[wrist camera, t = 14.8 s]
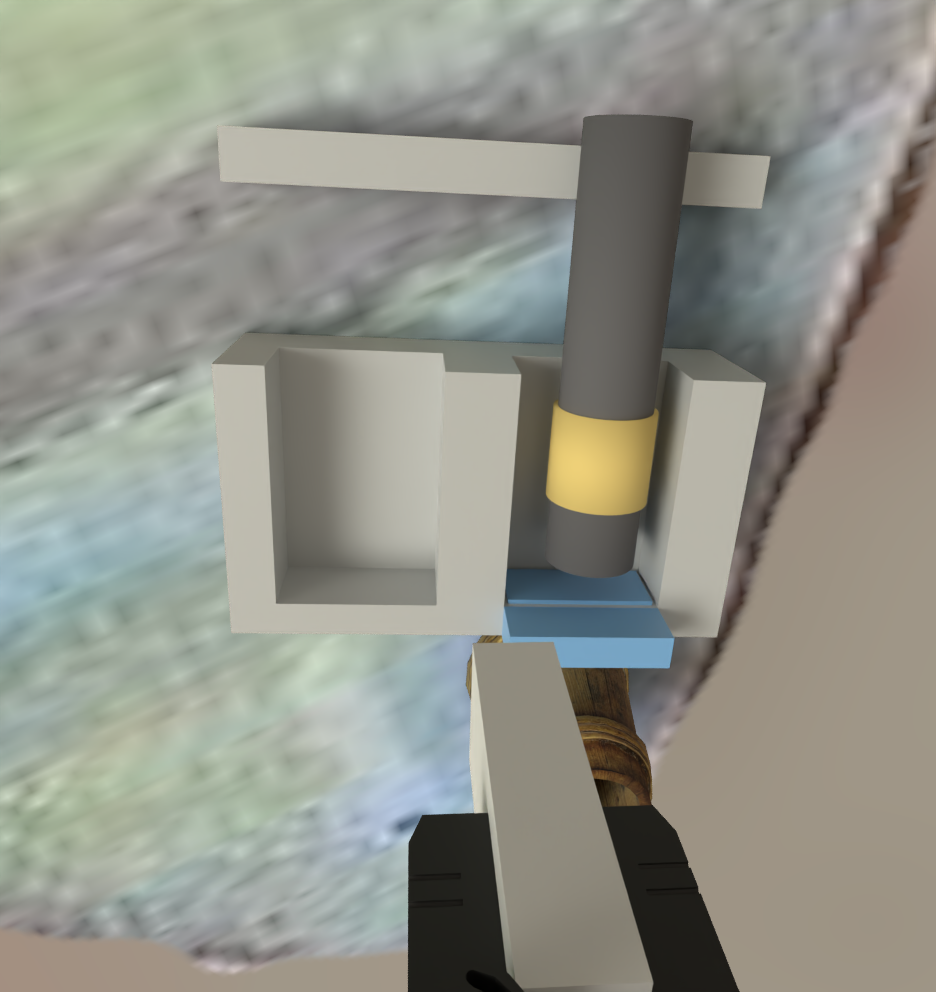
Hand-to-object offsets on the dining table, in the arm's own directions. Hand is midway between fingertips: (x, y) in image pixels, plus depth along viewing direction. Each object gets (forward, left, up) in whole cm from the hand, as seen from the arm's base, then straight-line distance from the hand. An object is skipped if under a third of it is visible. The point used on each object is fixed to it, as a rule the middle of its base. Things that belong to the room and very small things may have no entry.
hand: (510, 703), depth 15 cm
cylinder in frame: (0, +1, -25) cm, 25 cm away
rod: (-2, +6, -22) cm, 23 cm away
